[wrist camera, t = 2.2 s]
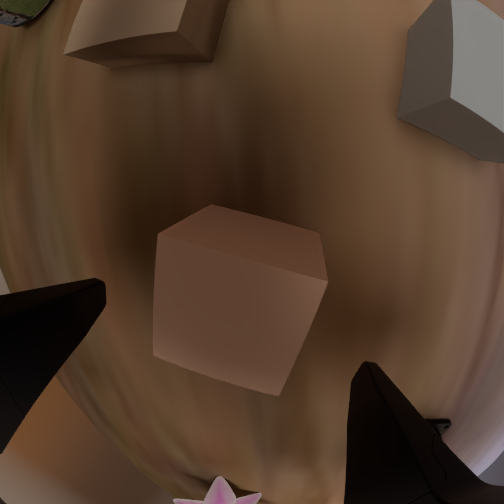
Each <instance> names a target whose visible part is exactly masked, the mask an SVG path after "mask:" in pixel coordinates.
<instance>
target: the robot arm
mask: <svg viewBox="0 0 504 504" xmlns="http://www.w3.org/2000/svg"><path fill="white" fill-rule="evenodd" d="M105 306H106V287H105V283H104V282H103V281H101V280H99V279H97V278H92V279H86V280H81V281H75V282H70V283H64V284H59V285H53V286H48V287H43V288H37V289H32V290H26V291H21V292H16V293H12V294H5V295H0V454H2V453H3V451H4V449H5V448H6V446H7V444H8V443H9V441H10V440H11V437H12V436H13V435H14V433H15V432H16V430H17V428H18V427H19V425H20V424H21V422H22V421H23V419H24V418H25V416H26V415H27V413H28V412H29V410H30V409H31V407H32V406H33V404H34V403H35V401H36V400H37V399H38V397H39V396H40V395H41V393H42V392H43V390H44V389H45V388H46V386H47V385H48V384H49V382H50V381H51V379H52V378H53V377H54V375H55V374H56V373H57V372H58V370H59V369H60V368H61V366H62V365H63V364H64V362H65V361H66V360H67V359H68V357H69V356H70V355H71V354H72V352H73V351H74V350H75V349H76V347H77V346H78V345H79V344H80V342H81V341H82V340H83V339H84V337H85V336H86V334H87V333H88V332H89V330H90V328H91V327H92V325H93V324H94V322H95V321H96V319H97V318H98V317H99V315H100V314H101V312H102V311H103V309H104V308H105ZM451 425H452V424H451V421H450V420H430V421H426V420H425V419H424V418H423V417H422V416H421V414H420V413H419V412H418V411H417V410H416V409H415V407H414V406H413V405H412V404H411V403H410V402H409V400H408V399H407V398H406V397H405V396H404V395H403V394H402V392H401V391H400V390H399V389H398V388H397V387H396V385H395V384H394V383H393V382H392V381H391V380H390V379H389V377H388V376H387V375H386V374H385V373H384V372H383V371H382V369H381V368H380V367H379V366H378V365H377V364H376V363H374V362H368V361H365V362H363V363H362V364H361V366H360V368H359V369H358V371H357V372H356V374H355V376H354V377H353V379H352V382H351V389H350V401H349V410H348V420H347V461H346V482H345V496H344V504H504V486H496V485H491V484H488V483H485V482H483V481H482V480H480V479H479V478H478V477H477V476H476V475H475V474H474V473H473V472H472V471H471V470H470V469H469V468H468V467H467V466H466V465H465V464H464V463H463V462H462V461H461V460H460V459H459V458H458V457H457V456H456V455H455V454H454V453H453V452H452V451H451V450H450V449H449V447H448V446H447V445H446V444H445V443H444V442H443V441H442V438H441V435H442V434H443V433H444V432H445V431H446V430H447V429H448V428H449V427H450V426H451ZM0 504H6V503H5V502H4V501H3V500H2V499H1V498H0Z"/></svg>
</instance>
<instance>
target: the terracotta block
mask: <svg viewBox="0 0 504 504" xmlns="http://www.w3.org/2000/svg"><path fill="white" fill-rule="evenodd" d="M327 284H328V277H327V271H326V265H325V259H324V254H323V248H322V243H321V238H320V233H319V232H315V231H312V230H308V229H305V228H301V227H297V226H294V225H290V224H286V223H283V222H279V221H275V220H272V219H268V218H264V217H260V216H257V215H253V214H249V213H245V212H241V211H237V210H233V209H229V208H225V207H221V206H217V205H213V204H211V205H209V206H207V207H205V208H203V209H201V210H199V211H198V212H196V213H194V214H192V215H190V216H189V217H187V218H185V219H183V220H181V221H180V222H178V223H176V224H174V225H172V226H171V227H169V228H167V229H165V230H164V231H162V232H160V233H159V234H158V238H157V249H156V262H155V279H154V301H153V356H155V357H158V358H160V359H163V360H165V361H168V362H170V363H173V364H175V365H178V366H180V367H183V368H186V369H189V370H191V371H194V372H197V373H200V374H203V375H206V376H209V377H212V378H215V379H218V380H221V381H224V382H227V383H231V384H234V385H237V386H241V387H244V388H248V389H252V390H255V391H259V392H263V393H267V394H271V395H275V396H279V395H280V393H281V391H282V389H283V387H284V385H285V382H286V380H287V378H288V376H289V374H290V372H291V370H292V368H293V365H294V363H295V361H296V359H297V357H298V354H299V352H300V350H301V348H302V345H303V343H304V341H305V338H306V336H307V334H308V331H309V329H310V327H311V324H312V322H313V319H314V317H315V314H316V312H317V309H318V307H319V304H320V302H321V299H322V297H323V294H324V292H325V289H326V286H327Z"/></svg>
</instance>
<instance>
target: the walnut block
mask: <svg viewBox="0 0 504 504" xmlns="http://www.w3.org/2000/svg"><path fill="white" fill-rule="evenodd" d="M228 3H229V0H83V2H82V4H81V6H80V9H79V11H78V14H77V16H76V19H75V21H74V24H73V27H72V29H71V32H70V35H69V38H68V41H67V44H66V47H65V50H64V54H63V55H67V56H71V57H75V58H79V59H83V60H86V61H90V62H93V63H97V64H100V65H103V66H107V67H110V68H115V67H123V66H131V65H140V64H152V63H168V62H213V58H214V54H215V50H216V46H217V42H218V39H219V35H220V31H221V27H222V24H223V20H224V17H225V13H226V10H227V6H228Z"/></svg>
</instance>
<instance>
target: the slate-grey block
mask: <svg viewBox="0 0 504 504" xmlns="http://www.w3.org/2000/svg"><path fill="white" fill-rule="evenodd" d="M396 118H398V119H401V120H403V121H405V122H408V123H410V124H412V125H415V126H417V127H419V128H421V129H423V130H425V131H428V132H430V133H432V134H434V135H436V136H438V137H440V138H442V139H444V140H445V141H447V142H449V143H451V144H453V145H455V146H457V147H458V148H460V149H462V150H464V151H465V152H467V153H469V154H471V155H472V156H474V157H475V158H477V159H479V160H482V161H491V162H499V163H504V20H503V19H501V18H500V17H499V16H498V15H496V14H495V13H494V12H492V11H491V10H490V9H488V8H487V7H485V6H484V5H483V4H481V3H480V2H478V1H477V0H434V1H433V2H432V3H431V4H430V6H429V7H428V8H427V9H426V10H425V11H424V12H423V14H422V15H421V16H420V17H419V18H418V19H417V21H416V22H415V23H414V24H413V25H412V26H411V28H410V29H409V30H408V40H407V51H406V60H405V68H404V76H403V83H402V89H401V95H400V101H399V107H398V112H397V117H396Z"/></svg>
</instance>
